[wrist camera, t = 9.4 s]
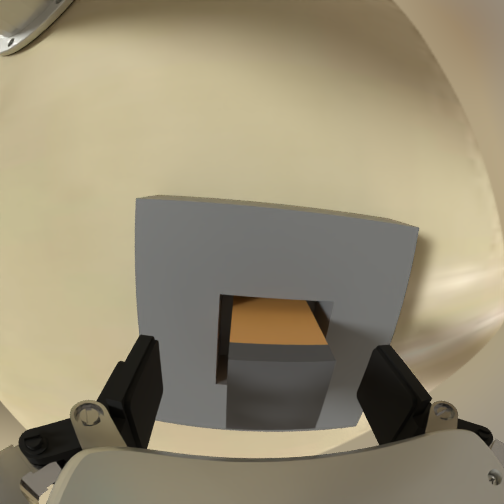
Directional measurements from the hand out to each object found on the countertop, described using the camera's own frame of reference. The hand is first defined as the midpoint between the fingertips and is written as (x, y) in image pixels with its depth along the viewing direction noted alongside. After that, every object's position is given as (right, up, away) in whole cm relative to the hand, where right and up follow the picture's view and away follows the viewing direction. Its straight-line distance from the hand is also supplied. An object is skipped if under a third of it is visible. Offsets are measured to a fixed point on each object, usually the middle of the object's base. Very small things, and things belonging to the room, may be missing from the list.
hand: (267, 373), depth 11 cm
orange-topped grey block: (0, +1, +6) cm, 6 cm away
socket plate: (0, +1, +6) cm, 6 cm away
